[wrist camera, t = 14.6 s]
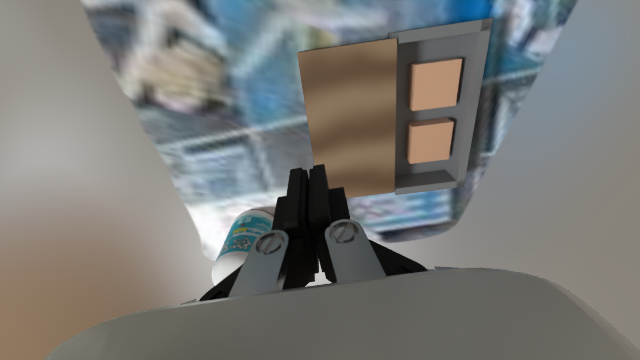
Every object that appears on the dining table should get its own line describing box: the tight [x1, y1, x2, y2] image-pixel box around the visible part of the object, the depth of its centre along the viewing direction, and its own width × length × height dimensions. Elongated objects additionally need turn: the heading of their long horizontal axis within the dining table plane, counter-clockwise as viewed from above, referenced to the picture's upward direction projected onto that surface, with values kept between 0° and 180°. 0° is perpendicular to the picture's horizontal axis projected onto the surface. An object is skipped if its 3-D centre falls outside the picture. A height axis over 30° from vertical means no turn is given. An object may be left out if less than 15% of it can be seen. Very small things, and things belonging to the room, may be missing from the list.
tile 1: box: [405, 118, 454, 164], centre depth 32 cm, size 5×5×2 cm
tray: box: [388, 18, 493, 195], centre depth 30 cm, size 19×9×4 cm, turn 7°
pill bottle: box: [212, 210, 274, 286], centre depth 35 cm, size 8×7×14 cm
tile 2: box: [407, 58, 462, 111], centre depth 29 cm, size 5×5×2 cm
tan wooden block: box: [297, 38, 397, 198], centre depth 31 cm, size 18×10×4 cm, turn 7°
